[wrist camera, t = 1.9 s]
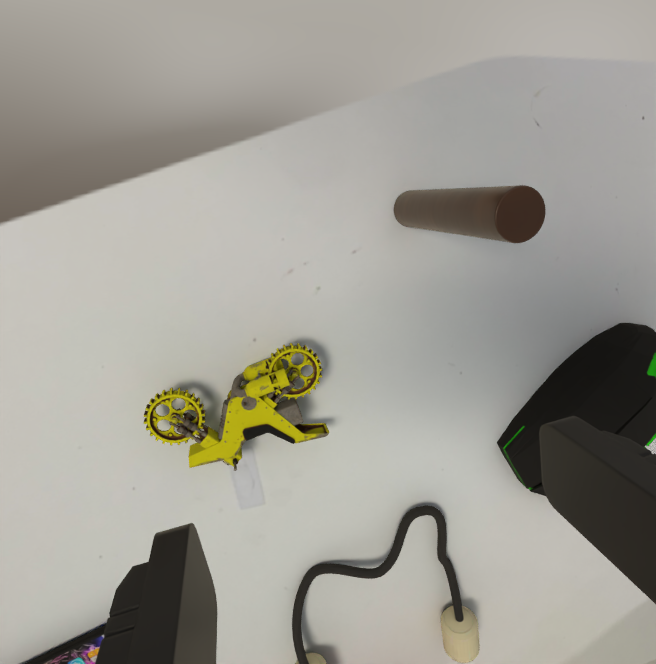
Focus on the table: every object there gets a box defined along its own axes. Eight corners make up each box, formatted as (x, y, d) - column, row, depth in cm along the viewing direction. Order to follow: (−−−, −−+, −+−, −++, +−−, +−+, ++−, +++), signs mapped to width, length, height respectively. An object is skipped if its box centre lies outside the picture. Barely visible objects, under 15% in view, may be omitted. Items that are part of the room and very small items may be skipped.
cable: (255, 552, 37) (259, 586, 34) (448, 491, 40) (469, 517, 36) (299, 694, 42) (305, 735, 39) (469, 631, 44) (489, 665, 41)
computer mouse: (692, 375, 42) (739, 393, 38) (565, 516, 43) (597, 546, 39) (619, 296, 38) (663, 307, 34) (482, 452, 39) (510, 479, 36)
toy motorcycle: (316, 345, 30) (348, 438, 32) (306, 328, 33) (336, 412, 36) (128, 416, 29) (176, 507, 31) (139, 390, 32) (181, 473, 35)
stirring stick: (391, 193, 32) (493, 190, 20) (424, 187, 33) (545, 180, 20) (395, 229, 33) (497, 248, 21) (428, 223, 33) (547, 237, 21)
